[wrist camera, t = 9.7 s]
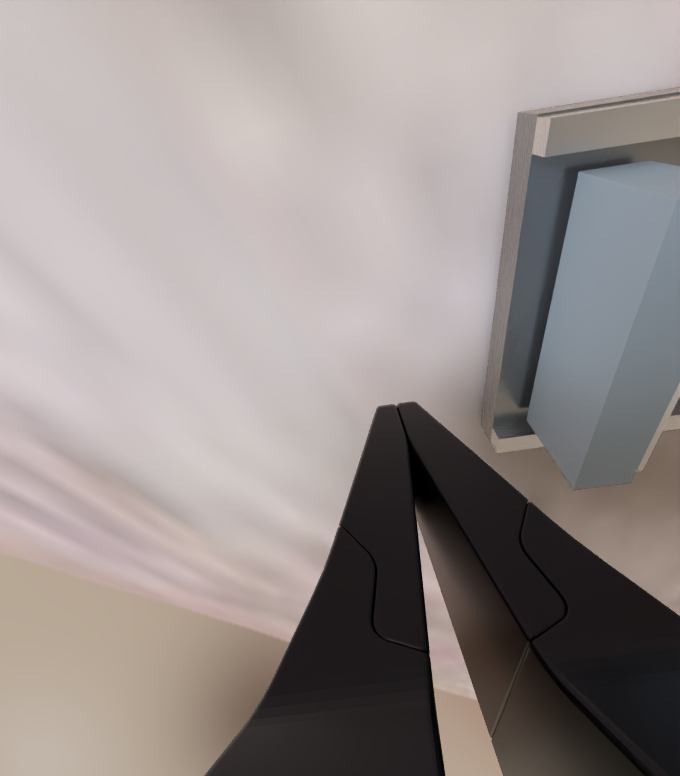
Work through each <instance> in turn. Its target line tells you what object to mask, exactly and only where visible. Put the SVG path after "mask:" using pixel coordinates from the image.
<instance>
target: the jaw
mask: <svg viewBox="0 0 680 776" xmlns="http://www.w3.org/2000/svg"><path fill="white" fill-rule="evenodd" d="M679 397H680V166H676V165H670V164H665V163H660V162H655V161H644V162H638V163H631V164H625V165H618V166H612V167H605V168H598V169H592V170H585V171H579V173H578V178H577V182H576V187H575V192H574V197H573V201H572V206H571V211H570V216H569V220H568V225H567V230H566V235H565V239H564V244H563V249H562V253H561V258H560V263H559V268H558V272H557V277H556V282H555V287H554V291H553V296H552V301H551V306H550V310H549V315H548V320H547V324H546V329H545V334H544V339H543V343H542V348H541V353H540V358H539V362H538V367H537V372H536V377H535V381H534V386H533V391H532V395H531V400H530V405H529V410H528V414H527V419H526V420H527V422H528V423H529V425H530V426H531V428H532V429H533V431H534V432H535V434H536V435H537V437H538V438H539V440H540V441H541V443H542V444H543V446H544V447H545V449H546V450H547V452H548V453H549V455H550V456H551V458H552V459H553V461H554V462H555V464H556V465H557V467H558V468H559V470H560V471H561V473H562V474H563V476H564V477H565V479H566V480H567V482H568V483H569V484H570V486H571V487H572V489H573V490H579V489H587V488H594V487H602V486H610V485H617V484H625V483H631V481H632V479H633V477H634V475H635V473H636V471H643V469H644V467H645V465H646V463H647V461H648V459H649V457H650V455H651V453H652V451H653V449H654V447H655V445H656V443H657V441H658V439H659V437H660V435H661V433H662V431H663V429H664V427H665V425H666V423H667V421H668V419H669V417H670V415H671V413H672V411H673V409H674V407H675V405H676V403H677V401H678V399H679Z"/></svg>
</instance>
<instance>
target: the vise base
mask: <svg viewBox="0 0 680 776" xmlns="http://www.w3.org/2000/svg"><path fill="white" fill-rule="evenodd" d="M644 161H655V162H660V163H665V164H670V165H676V166H680V87H677V88H671V89H664V90H658V91H652V92H645V93H639V94H633V95H626V96H620V97H613V98H607V99H601V100H594V101H588V102H582V103H575V104H569V105H563V106H556V107H550V108H543V109H537V110H531V111H524V112H518V117H517V125H516V134H515V142H514V150H513V159H512V167H511V176H510V184H509V192H508V201H507V209H506V218H505V226H504V234H503V243H502V251H501V260H500V268H499V276H498V285H497V293H496V302H495V310H494V318H493V327H492V335H491V344H490V352H489V360H488V369H487V377H486V386H485V394H484V402H483V411H482V419H481V425H482V427H483V429H484V431H485V433H486V435H487V437H488V439H489V441H490V442H491V443H492V445H493V447H494V449H495V451H496V453H503V452H511V451H518V450H526V449H533V448H541V447H544V446H543V444H542V443H541V441H540V440H539V438H538V437H537V435H536V434H535V432H534V431H533V429H532V428H531V426H530V425H529V423H528V422H527V420H526V419H527V414H528V410H529V405H530V400H531V395H532V391H533V386H534V381H535V377H536V372H537V367H538V362H539V358H540V353H541V348H542V343H543V339H544V334H545V329H546V324H547V320H548V315H549V310H550V306H551V301H552V296H553V291H554V287H555V282H556V277H557V272H558V268H559V263H560V258H561V253H562V249H563V244H564V239H565V235H566V230H567V225H568V220H569V216H570V211H571V206H572V201H573V197H574V192H575V187H576V182H577V178H578V173H579V171H585V170H592V169H598V168H605V167H612V166H618V165H625V164H631V163H638V162H644ZM675 429H680V397H679V399H678V401H677V403H676V405H675V407H674V409H673V411H672V413H671V415H670V417H669V419H668V421H667V423H666V425H665V427H664V429H663V431H667V430H675Z"/></svg>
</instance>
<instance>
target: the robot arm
mask: <svg viewBox="0 0 680 776" xmlns="http://www.w3.org/2000/svg"><path fill="white" fill-rule="evenodd" d="M527 503H528V500H527V498H525V497H524V496H523V495H522V494H521V493H520V492H519V491H517V490H516V489H515V488H514V487H513V486H512V485H511V484H509V483H508V482H507V481H506V480H505V479H504V478H502V477H501V476H500V475H499V474H498V473H497V472H496V471H494V470H493V469H492V468H491V467H490V466H489V465H488V464H486V463H485V462H484V461H483V460H482V459H481V458H480V457H478V456H477V455H476V454H475V453H474V452H473V451H472V450H470V449H469V448H468V447H467V446H466V445H465V444H463V443H462V442H461V441H460V440H459V439H458V438H457V437H455V436H454V435H453V434H452V433H451V432H450V431H449V430H447V429H446V428H445V427H444V426H443V425H442V424H441V423H439V422H438V421H437V420H436V419H435V418H434V417H432V416H431V415H430V414H429V413H428V412H427V411H426V410H424V409H423V408H422V407H421V406H420V405H419V404H418V403H416V402H405V403H399V404H397V406H396V405H394V404H391V405H384V406H379V407H377V409H376V412H375V415H374V418H373V421H372V424H371V427H370V431H369V434H368V437H367V440H366V443H365V446H364V449H363V452H362V455H361V459H360V462H359V465H358V468H357V471H356V474H355V477H354V480H353V483H352V487H351V490H350V493H349V496H348V499H347V502H346V505H345V508H344V511H343V515H342V518H341V521H340V524H339V525H340V527H339V528H338V529H337V532H336V536H335V539H334V542H333V545H332V548H331V550H330V553H329V556H328V559H327V561H326V564H325V567H324V570H323V572H322V574H321V577H320V579H319V581H318V583H317V586H316V588H315V590H314V593H313V595H312V597H311V599H310V602H309V604H308V606H307V608H306V610H305V612H304V614H303V616H302V618H301V621H300V623H299V625H298V627H297V629H296V631H295V633H294V635H293V637H292V639H291V642H290V644H289V646H288V648H287V650H286V652H285V655H284V656H283V658H282V661H281V663H280V665H279V667H278V669H277V671H276V673H275V675H274V677H273V679H272V681H271V683H270V685H269V687H268V689H267V690H266V692H265V694H264V696H263V698H262V699H261V701H260V703H259V704H258V706H257V708H256V709H255V711H254V713H253V714H252V715H251V717H250V718H249V720H248V721H247V723H246V724H245V725H244V726H243V728H242V729H241V730H240V732H239V733H238V734H237V736H236V737H235V738H234V739H233V740H232V742H231V743H230V744H229V745H228V747H227V748H226V749H225V750H224V752H223V753H222V754H221V755H220V757H219V758H218V759H217V760H216V762H215V763H214V764H213V765H212V767H211V768H210V770H208V772H207V773H206V774H205V775H204V776H445V770H444V763H443V756H442V749H441V742H440V735H439V728H438V720H437V713H436V705H435V697H434V689H433V680H432V671H431V661H430V657H429V652H430V651H429V641H428V631H427V621H426V611H425V601H424V591H423V581H422V571H421V561H420V550H419V540H418V530H417V521H418V524H419V527H420V530H421V533H422V536H423V538H424V541H425V544H426V547H427V550H428V553H429V556H430V559H431V562H432V565H433V568H434V571H435V574H436V577H437V580H438V583H439V586H440V589H441V592H442V595H443V598H444V601H445V604H446V607H447V610H448V613H449V616H450V619H451V622H452V625H453V628H454V631H455V634H456V637H457V640H458V643H459V646H460V648H461V651H462V654H463V657H464V660H465V663H466V666H467V669H468V672H469V675H470V678H471V681H472V684H473V687H474V690H475V693H476V696H477V699H478V702H479V705H480V708H481V711H482V714H483V717H484V720H485V723H486V726H487V729H488V732H489V735H490V737H491V738H492V744H493V747H494V750H495V753H496V756H497V759H498V762H499V764H500V768H501V771H502V774H503V776H680V616H679V615H678V614H676V613H675V612H674V611H672V610H671V609H669V608H668V607H667V606H665V605H664V604H663V603H661V602H660V601H658V600H657V599H656V598H654V597H653V596H652V595H650V594H649V593H647V592H646V591H645V590H643V589H642V588H640V587H639V586H638V585H636V584H635V583H634V582H632V581H631V580H629V579H628V578H627V577H625V576H624V575H623V574H621V573H620V572H618V571H617V570H616V569H614V568H613V567H612V566H610V565H609V564H607V563H606V562H605V561H603V560H602V559H601V558H599V557H598V556H597V555H595V554H594V553H593V552H591V551H590V550H589V549H587V548H586V547H585V546H583V545H582V544H581V543H579V542H578V541H577V540H575V539H574V538H573V537H572V536H570V535H569V534H568V533H567V532H566V531H564V530H563V529H562V528H561V527H560V526H558V525H557V524H556V523H555V522H554V521H552V520H551V519H550V518H549V517H548V516H546V515H545V514H544V513H543V512H542V511H541V510H539V509H538V508H537V507H536V506H535V505H534V504H533V503H531V502H529V503H528V504H527ZM416 518H417V520H416Z"/></svg>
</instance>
